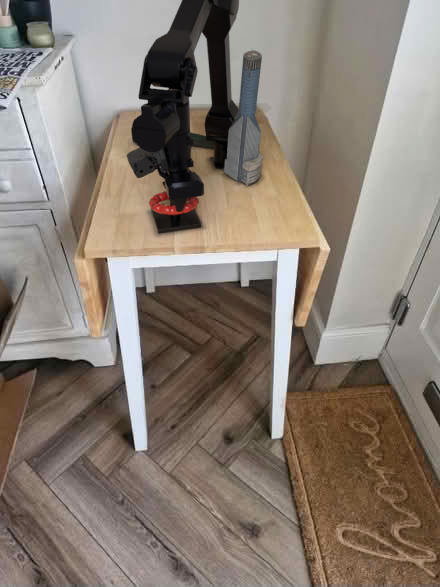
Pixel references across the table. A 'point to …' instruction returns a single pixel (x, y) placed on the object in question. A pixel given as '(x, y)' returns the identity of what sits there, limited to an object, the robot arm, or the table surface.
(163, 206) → the ring
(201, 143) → the tool
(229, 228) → the table surface
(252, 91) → the building
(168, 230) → the peg
